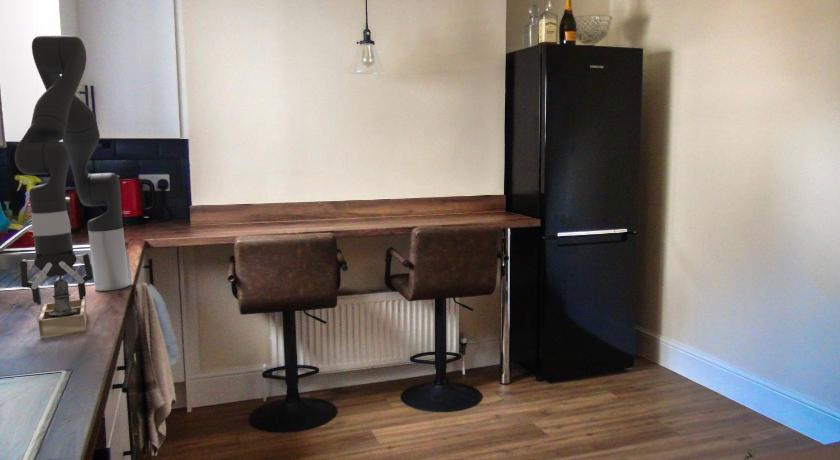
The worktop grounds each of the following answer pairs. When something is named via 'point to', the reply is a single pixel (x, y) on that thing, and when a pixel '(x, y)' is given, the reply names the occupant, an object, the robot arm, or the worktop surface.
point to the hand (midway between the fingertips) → (60, 301)
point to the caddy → (63, 320)
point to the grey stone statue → (61, 300)
